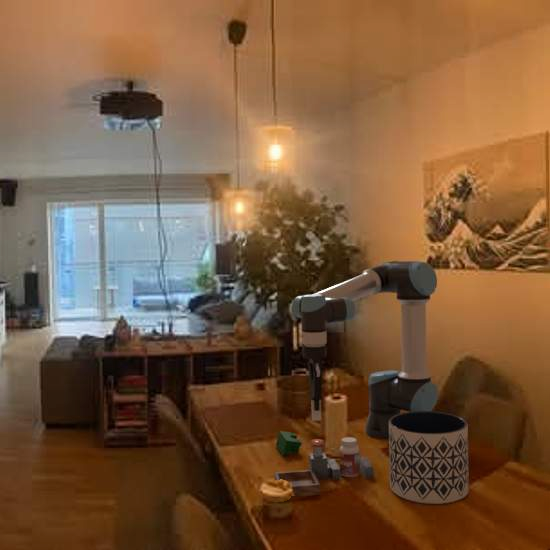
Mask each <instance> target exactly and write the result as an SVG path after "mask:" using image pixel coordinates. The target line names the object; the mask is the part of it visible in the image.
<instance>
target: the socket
mask: <svg viewBox="0 0 550 550" xmlns="http://www.w3.org/2000/svg"><path fill="white" fill-rule="evenodd" d="M359 465H360V472H361V473H362V475H363V476H364V478H365V479H374V466H373V464H372V463H371V462H370V460H369V458H368V457H367V456H359ZM308 467H309V468H308V470H313V471H314V473H315V476H316V478H317V480H329V478H330V479H331V480H332V482H334V481H335V482H336V481H341V474H340V465H338V463H337V461H336V459H335V458H331V459H328V457H327V455H326V453H325V452H322V457H320V458H314V453H308Z"/></svg>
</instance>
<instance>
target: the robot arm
mask: <svg viewBox="0 0 550 550" xmlns="http://www.w3.org/2000/svg"><path fill="white" fill-rule="evenodd" d="M437 287H438V277H437V273H436V271H435V269H434V268H433V266H432V265H431V264H429V263H428V262H425V261H419V260H414V261H413V260H411V261H410V260H409V261H408V260H407V261H405V260H403V261H398V260H393V261H387V262H383V263H380V264H377V265H375V266H373V267H370V268H368V269H365V270H363V272H362V273H361V274H360V275H358V276H355V277H353V278H350V279H347V280H346V281H343V282H340V283H338V284H335V285H333V286H330V287H328V288H326V289H323V290H321V291H317V292H316V293H313V294H304V295H298V296H296V297H295V298H294V299H293V300H292V303H291V311H292V313H293V315H294V316H295V317H296V318H298V319H299V318H300V319H301V331H302V332H301V333H302V334H300V335H299V336H300V338H302V339H301V340H302V344H303V346H302V347H301V348H302V358H304V359H307V360H309V362H308V363H307V368H308V378H309V380H308V381H309V395H310V398H309V401H310V402H311V403H310V404H311V420H312V422H313V421H322V404H321V403H322V400H323V375H324V374H323V373H324V370H323V363H321V359H325V358H326V357H327V356H328V348H327V347H328V346H327V345H326V344H327V343H328V342H327V341H328V338H327V336H328V335H327V332H328V331H327V325H328V324H334V323H335V324H336V323H341V322H342V323H344V322H346V321H350V320H352V318H354V316H355V313H356V307H355V303H354V301H357V300H359V299H361V298H363V297H366V296H369V295H371V296H375V295H378V294H382V293H383V294H384V293H390V294H391V293H393V294H396V300H397V301H398V302H399V303H400V306H401V307H400V309H401V311H400V313H401V317H400V318H401V319H400V322H401V326H400V327H401V328H400V329H401V371H399V370H383V371H377V372H373V373H371V374H370V375H369V377H368V399H369V400H368V402H369V404H368V405H369V414H368V416H367V420H366V423H365V426H364V427H365V434H366V435H368V436H369V437H373V438H377V439H387V440H389V420H390V418H391V417H393V416H395V415H397V414H401V413H402V411H406V412H415V411H433V410H434V407H435V406H436V403H437V401H438V398H439V389H438V387H437V384H435V383H434V382H432V374H431V373H429V372H428V371H427V370H428V369H427V304H428V302H429V301H431V295H432V294H434V293H435V292H436V288H437Z"/></svg>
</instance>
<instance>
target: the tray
mask: <svg viewBox="0 0 550 550" xmlns="http://www.w3.org/2000/svg"><path fill="white" fill-rule="evenodd" d="M273 473H274V474H273V475H274V481H275V480H280V479H283V480H286V481H288V482H290V483H291V484H292V485H291V487H292V489H293V493H294V495H295V496H296V497H307V496H319V495H320V493H321V491H320V482H319V479H317V478H316V476H315V473H314V471H313V470H309V469H305V470H304V469H302V470H291V471H289V470H287V471H278V472H277V471H276V472H273Z"/></svg>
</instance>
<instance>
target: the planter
mask: <svg viewBox="0 0 550 550" xmlns="http://www.w3.org/2000/svg"><path fill="white" fill-rule="evenodd" d="M468 426H469V424H468V422H467V420H466V419H464V418H463V417H460V416H458V415H455V414H451V413H447V412H440V411H433V410H431V411H415V412H409V411H406V412H401V414H397V415H395V416H393V417H391V418H390V420H389V439H388V447H389V448H388V449H389V452H388V453H389V455H388V456H389V457H388V459H389V485H390V486H389V487H390V489H391V491H392V492H393V493H394V494H395V495H397V496H399V497H400V498H402V499H405V500H406V501H410V502H413V503H418V504H426V505H443V504H444V503H446V504H451V503H454V501H455V502H457V500H458V501H459V500H462V499H463V498H465V497H466V496H467V495H468V493H469V490H470V487H469V485H470V482H469V481H470V480H469V477H470V476H469V475H470V474H469V428H468ZM450 502H451V503H450ZM444 505H445V504H444Z"/></svg>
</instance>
